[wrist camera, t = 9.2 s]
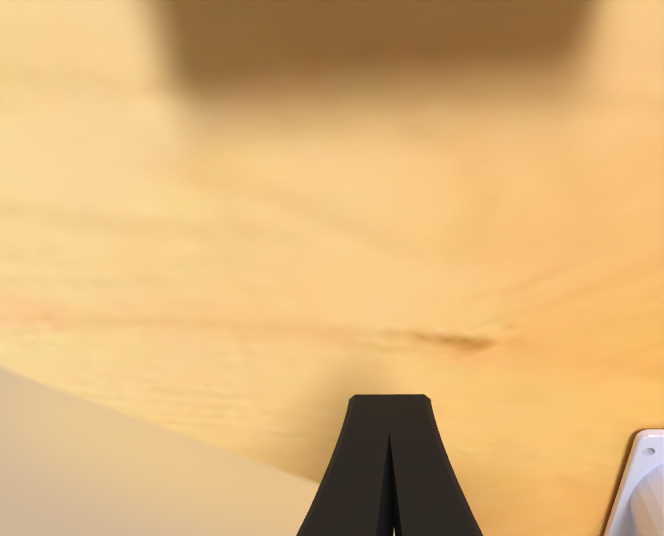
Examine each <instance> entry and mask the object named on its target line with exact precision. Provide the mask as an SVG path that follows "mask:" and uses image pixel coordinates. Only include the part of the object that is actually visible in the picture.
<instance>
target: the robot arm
mask: <svg viewBox="0 0 664 536" xmlns="http://www.w3.org/2000/svg"><path fill="white" fill-rule="evenodd" d="M394 531H395V536H483V534H482V532H481V530H480V528H479V526H478V524H477V522H476V520H475V518H474V516H473V514H472V512H471V509H470V507H469V505H468V503H467V501H466V498H465V496H464V494H463V492H462V490H461V487H460V485H459V483H458V481H457V478H456V476H455V474H454V471H453V469H452V466H451V464H450V461H449V459H448V456H447V453H446V451H445V448H444V445H443V443H442V440H441V437H440V434H439V431H438V428H437V425H436V421H435V418H434V414H433V410H432V405H431V400H430V399H429V398H428V397H427V396H426V395H424V394H395V395H354V396H353V397H352V398H350V399H349V404H348V408H347V413H346V416H345V420H344V423H343V426H342V429H341V433H340V435H339V438H338V441H337V444H336V447H335V449H334V452H333V455H332V457H331V460H330V463H329V465H328V467H327V470H326V472H325V474H324V477H323V479H322V481H321V484H320V486H319V488H318V491H317V493H316V496H315V498H314V500H313V502H312V505H311V507H310V509H309V511H308V513H307V515H306V517H305V519H304V521H303V523H302V525H301V527H300V529H299V531H298V533H297V535H296V536H393V532H394ZM604 536H664V429H647V430H643V431H641V432H639V433H638V434H637V435H636V437H635V439H634V442H633V446H632V449H631V452H630V455H629V458H628V461H627V464H626V467H625V471H624V474H623V477H622V480H621V483H620V486H619V489H618V492H617V496H616V499H615V502H614V505H613V508H612V511H611V514H610V517H609V521H608V524H607V527H606V530H605V533H604Z"/></svg>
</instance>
